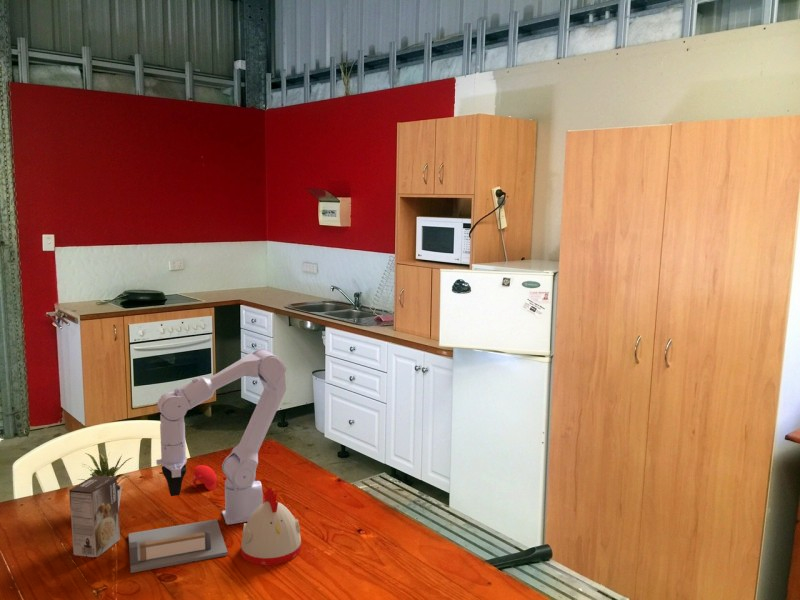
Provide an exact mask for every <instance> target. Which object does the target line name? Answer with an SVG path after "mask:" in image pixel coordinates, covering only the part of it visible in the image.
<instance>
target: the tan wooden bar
mask: <svg viewBox="0 0 800 600" xmlns="http://www.w3.org/2000/svg"><path fill="white" fill-rule="evenodd" d="M203 549H205V534H204V532H203V533H197V534H191V535H185V536H179V537H173V538H167V539H161V540H155V541H150V542H144V543H140V559H141V561H144V560H147V559H153V558H158V557H164V556H170V555H175V554H181V553H186V552H192V551H198V550H203Z"/></svg>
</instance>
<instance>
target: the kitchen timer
mask: <svg viewBox="0 0 800 600" xmlns="http://www.w3.org/2000/svg"><path fill="white" fill-rule="evenodd" d="M274 491H275V490H273V488H272V487H269V488H267V490H265V492H263V498H264V502H263V504H261V505H260V506H259V507H258V508H257V509H256V510H255V511H254V512H253V513H252V515H251V516H250V518H249V520H248V521H247V523H246V522H243V528H242V535H241V537H242V538H241V543H240V544H241V545H240V550H241V552H240V553H241V556H242V557H243V558H244V560H245V561H247V562H249V563H251V564H255V565H256V564H257V565H260V566H261V565H262V566H263V565H264V566H269V565H278V564H283V563H286V562H288V561H291V560H292V559H294V558H296V557H297V556H298V555H299V554H300V553H301V550H302V538H301V528H300V524H299V523H300V522H299V519H298V518H295V516H294V515H293V514H292V512H291V511H290V510H289V509H288V507H286V506H285V505H284V504H282V503H281V502H278V501H277V494H276V493H274Z"/></svg>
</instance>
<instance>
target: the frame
mask: <svg viewBox="0 0 800 600" xmlns="http://www.w3.org/2000/svg"><path fill="white" fill-rule="evenodd" d="M203 532H204V534H205V549H203V550H198V551H192V552H186V553H181V554H175V555H170V556H164V557H158V558H153V559H147V560H144V561H141V559H140V543H144V542H150V541H155V540H161V539H167V538H173V537H179V536H185V535H191V534H197V533H203ZM224 540H225V539H224V537H223V534H222V531H221V528H220V525H219V521H218V519H216V518H215V519H209V520H204V521H196V522H191V523H185V524H180V525H179V524H178V525H174V526H173V525H172V526H166V527H159V528H155V529H148V530H142V531H135V532H131V533H130V532H129V533H128V546H129V547H128V548H129V550H128V551H129V567H130V570H129V571H130V574H132V573H137V572H138V573H139V572H143V571H144V572H145V571H149V570H153V569H154V570H155V569H160V568H166V567H172V566H177V565H182V564H188V563H194V562H198V561H204V560H210V559H215V558H219V557H224V556H225V557H226V556H229V555H228V554H229V553H228V552H229V551H228V549H227V546H226V542H225V541H224ZM193 561H194V562H193Z"/></svg>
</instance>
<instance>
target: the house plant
mask: <svg viewBox="0 0 800 600" xmlns="http://www.w3.org/2000/svg"><path fill="white" fill-rule="evenodd" d="M110 453H111V452H109V454H108V456H107V457H105V456H104V455H103V454H101V453H100V452H98V457H99V465H98V463H97V461H96V459H95V457H94V456H93V455H91V454H90V453H86V452H84V454H86V455H88V457H90V459H91V461H92V462H93V464H94V466H95V468H96V469H95V468H94V469H93V468H92V466H89V468H90V469H89V468H88V467H87V469H88V470H90V472H91V473H90V474H89V475H90V477H92V476H94V475H95V476H108V477H117V480H118V481H117V494H118V510H120V502H121V494H122V485H120V484H119V483H120V482H121V481H122V480H124V479H125V478H130V476H129V475H126V474H125V473H119V474H117V472H118V471H119V470H120V469H121V468H122V466H124V465H125V464H126V463H127V461H129V460H132V459H133V458H134V457H129V458H127V459H126V460H125V461H124V462H123V463H122V464H121V465H119V463H120V461H121V460H122V459H121V458H122V456H123V454H121V456H120V457H119V458H118V460H117V462H116V464H115V466H111V467H110V468H109V464H108V463H109V462H108V460H109V456H110ZM83 465H84V466H83V467H85V466H86V464H84V463H83ZM118 466H119V467H118ZM85 468H86V467H85ZM116 474H117V475H116ZM123 476H124V477H123ZM120 477H122V478H121V479H120V480H119V478H120ZM77 480H79V481H82V480H83V481H85V479H82V478H79V479H78V478H77Z"/></svg>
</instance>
